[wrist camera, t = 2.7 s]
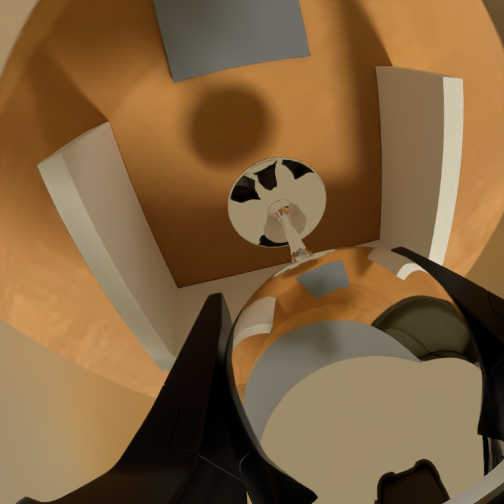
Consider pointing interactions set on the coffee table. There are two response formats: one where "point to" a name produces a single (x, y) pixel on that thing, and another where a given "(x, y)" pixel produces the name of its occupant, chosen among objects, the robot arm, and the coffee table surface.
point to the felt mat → (228, 33)
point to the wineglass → (349, 366)
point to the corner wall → (244, 285)
